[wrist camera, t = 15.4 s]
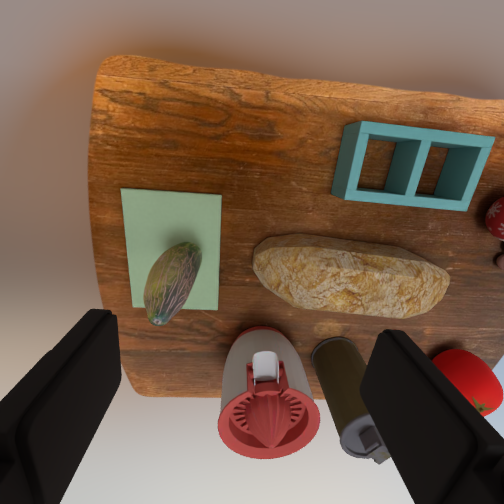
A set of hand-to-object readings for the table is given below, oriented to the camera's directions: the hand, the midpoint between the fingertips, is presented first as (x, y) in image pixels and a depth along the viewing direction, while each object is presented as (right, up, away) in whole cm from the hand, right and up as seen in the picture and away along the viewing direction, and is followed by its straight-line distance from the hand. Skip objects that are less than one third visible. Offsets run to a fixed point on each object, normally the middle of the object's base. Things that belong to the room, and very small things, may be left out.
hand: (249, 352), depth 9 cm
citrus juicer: (+2, -16, +45) cm, 48 cm away
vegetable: (-11, +4, +36) cm, 38 cm away
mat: (-14, +3, +37) cm, 39 cm away
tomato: (+44, -22, +50) cm, 70 cm away
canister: (+18, -19, +47) cm, 54 cm away
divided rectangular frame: (+24, +18, +33) cm, 45 cm away
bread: (+18, +1, +40) cm, 44 cm away
